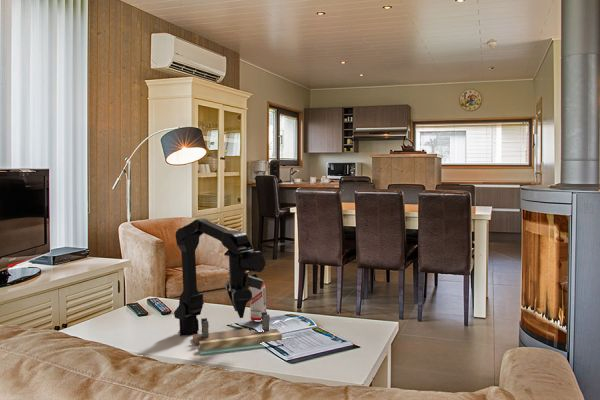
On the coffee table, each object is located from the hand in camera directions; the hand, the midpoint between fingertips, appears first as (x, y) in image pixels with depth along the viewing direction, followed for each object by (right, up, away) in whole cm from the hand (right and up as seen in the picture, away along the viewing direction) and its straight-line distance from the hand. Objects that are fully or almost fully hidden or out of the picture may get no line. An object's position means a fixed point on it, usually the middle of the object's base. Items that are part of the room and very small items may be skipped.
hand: (239, 314), depth 182 cm
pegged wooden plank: (-2, -9, +10) cm, 13 cm away
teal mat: (+1, -11, 0) cm, 11 cm away
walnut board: (-2, -10, +10) cm, 15 cm away
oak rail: (+1, -10, 0) cm, 10 cm away
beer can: (+4, -9, +31) cm, 32 cm away
